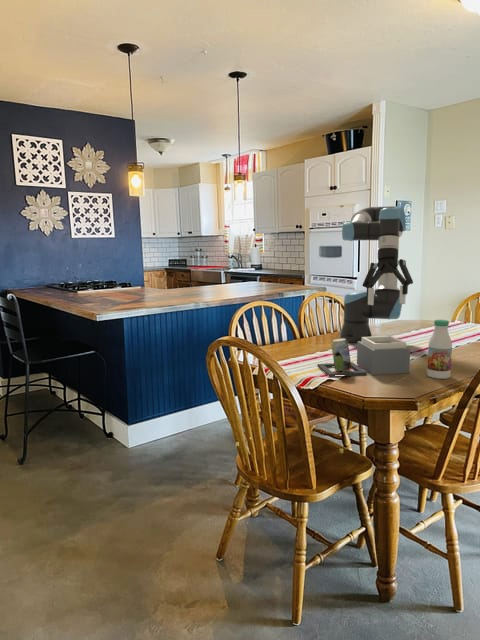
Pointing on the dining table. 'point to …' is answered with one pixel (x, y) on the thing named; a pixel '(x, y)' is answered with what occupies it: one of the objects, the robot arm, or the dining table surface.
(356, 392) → the dining table surface
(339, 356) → the beverage can
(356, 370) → the gray square frame
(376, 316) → the robot arm
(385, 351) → the tray
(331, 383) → the dining table surface
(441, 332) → the milk bottle
